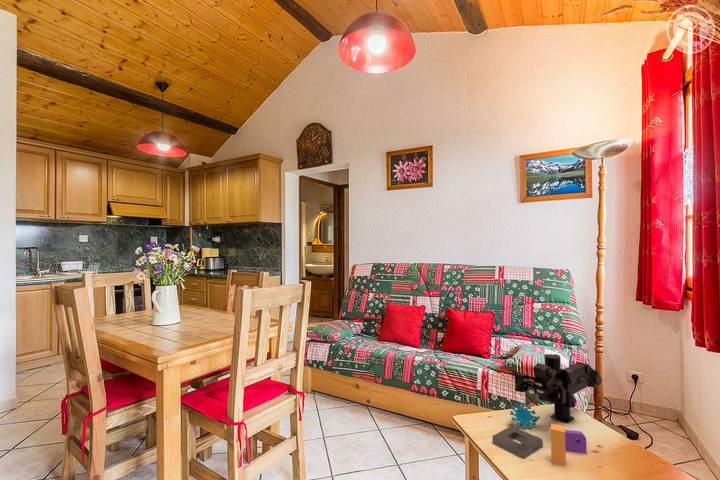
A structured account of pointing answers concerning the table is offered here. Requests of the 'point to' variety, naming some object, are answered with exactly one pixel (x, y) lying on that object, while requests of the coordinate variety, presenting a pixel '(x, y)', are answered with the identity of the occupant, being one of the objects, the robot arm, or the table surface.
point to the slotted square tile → (521, 450)
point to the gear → (524, 415)
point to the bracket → (575, 442)
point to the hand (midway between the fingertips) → (526, 393)
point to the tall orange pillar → (558, 444)
